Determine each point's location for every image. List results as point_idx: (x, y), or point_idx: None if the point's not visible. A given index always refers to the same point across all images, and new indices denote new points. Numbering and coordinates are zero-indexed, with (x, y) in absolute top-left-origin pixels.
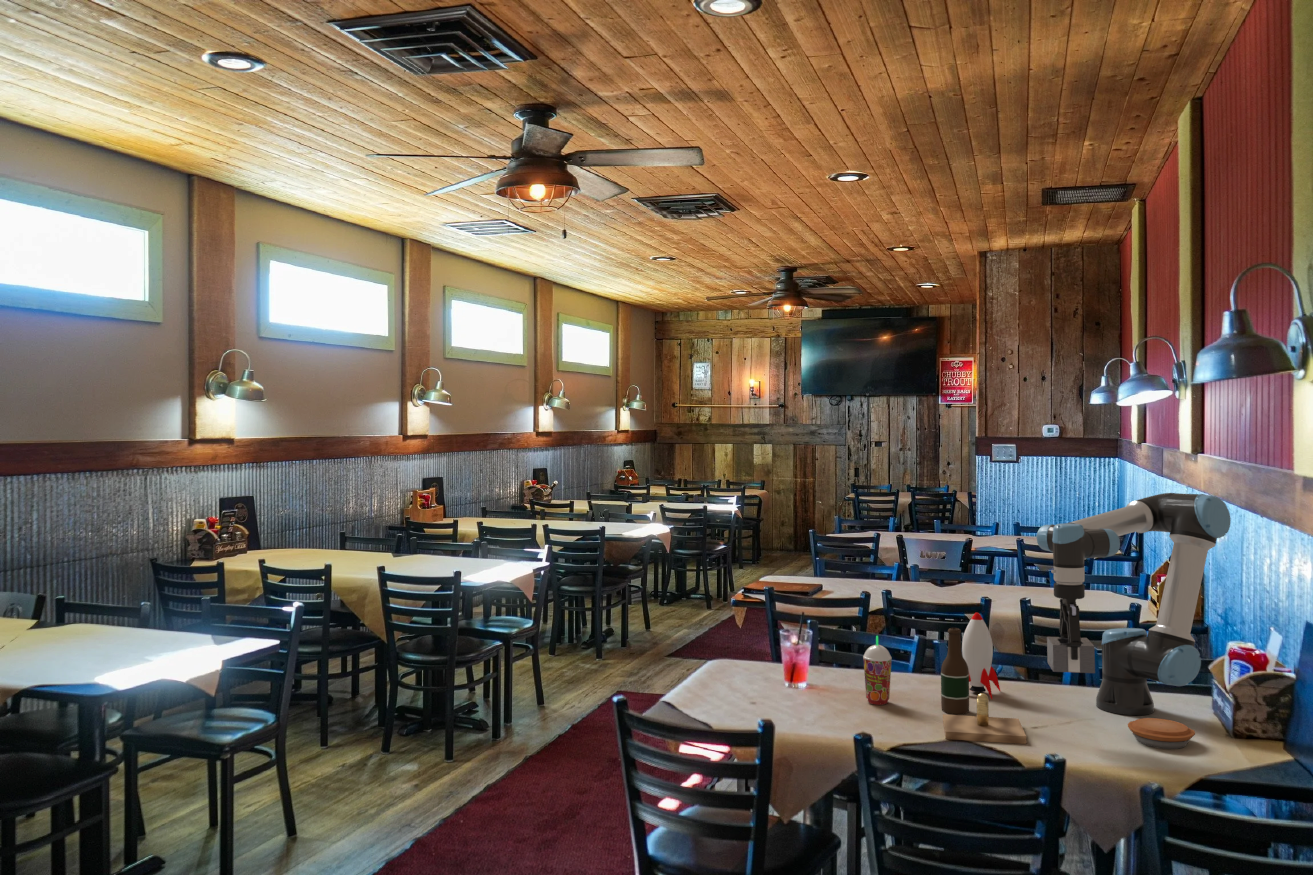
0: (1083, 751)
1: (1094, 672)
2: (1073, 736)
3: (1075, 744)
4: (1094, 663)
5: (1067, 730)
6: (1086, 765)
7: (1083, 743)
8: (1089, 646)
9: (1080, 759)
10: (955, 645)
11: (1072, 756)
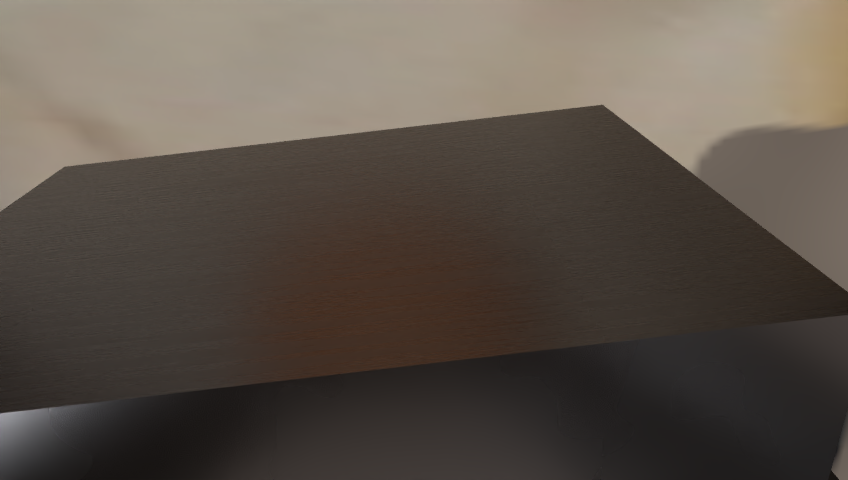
0: (611, 83)
1: (604, 112)
2: (360, 117)
3: (501, 115)
4: (652, 149)
5: (257, 142)
6: (827, 84)
7: (472, 74)
8: (833, 409)
9: (740, 106)
10: None
11: (698, 139)
